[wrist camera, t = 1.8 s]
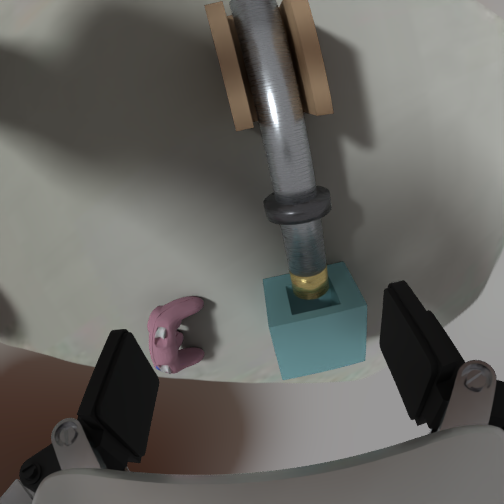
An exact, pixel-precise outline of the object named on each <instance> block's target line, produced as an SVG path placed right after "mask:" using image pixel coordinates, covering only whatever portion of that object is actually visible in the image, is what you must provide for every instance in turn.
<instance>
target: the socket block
mask: <svg viewBox="0 0 504 504" xmlns="http://www.w3.org/2000/svg"><path fill="white" fill-rule="evenodd" d="M327 272H328V282H329V289H328V291H327V293H326V294H324V295H323V296H321V297H319V298H317V299H312V300H305V299H300V298H298V297H297V296H295V295H294V293H293V288H292V283H291V277H290V274H285V275H280V276H276V277H271V278H266V279H263V285H264V292H265V300H266V308H267V316H268V324H269V330H270V334H271V337H272V341H273V345H274V349H275V353H276V356H277V360H278V364H279V368H280V372H281V376H282V379H283V380H286V379H291V378H296V377H301V376H306V375H310V374H315V373H319V372H324V371H328V370H332V369H336V368H340V367H344V366H348V365H352V364H355V363H359V362H363V361H365V355H366V333H367V304H366V302H365V300H364V298H363V296H362V294H361V292H360V291H359V289H358V287H357V285H356V283H355V281H354V280H353V278H352V276H351V274H350V272H349V271H348V269H347V267H346V265H345V263H344V262H339V263H335V264H330V265H327Z"/></svg>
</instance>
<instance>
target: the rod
mask: <svg viewBox="0 0 504 504" xmlns="http://www.w3.org/2000/svg"><path fill="white" fill-rule="evenodd" d="M229 5H230V9H231V12H232V16H233V20H234V24H235V27H236V31H237V35H238V39H239V43H240V47H241V51H242V55H243V59H244V63H245V67H246V71H247V75H248V79H249V83H250V87H251V91H252V96H253V100H254V104H255V108H256V113H257V117H258V121H259V126H260V130H261V135H262V139H263V144H264V148H265V153H266V157H267V162H268V166H269V171H270V176H271V180H272V185H273V190H274V193H272V194H270V195H269V196H267V197H266V198H265V200H264V208H265V212H266V217H267V219H268V220H269V221H270V222H273V223H275V224H281V229H282V234H283V239H284V244H285V250H286V255H287V260H288V265H289V272H290V277H291V283H292V288H293V293H294V295H295V296H297V297H298V298H300V299H305V300H312V299H317V298H319V297H321V296H323V295H324V294H326V293H327V291H328V289H329V282H328V272H327V263H326V256H325V247H324V239H323V231H322V224H321V218H322V217H324V216H325V215H327V214H328V213H329V212H330V210H331V199H330V192H329V190H328V189H326V188H324V187H321V186H316V182H315V176H314V170H313V164H312V158H311V152H310V146H309V141H308V135H307V130H306V125H305V120H304V115H303V110H302V105H301V100H300V95H299V90H298V86H297V81H296V77H295V72H294V68H293V64H292V59H291V55H290V51H289V47H288V43H287V39H286V35H285V31H284V27H283V23H282V20H281V16H280V12H279V9H278V5H277V2H276V0H231V1H230V2H229Z"/></svg>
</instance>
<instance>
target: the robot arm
mask: <svg viewBox="0 0 504 504" xmlns="http://www.w3.org/2000/svg"><path fill="white" fill-rule="evenodd" d="M380 348H381V351H382V353H383V356H384V358H385V360H386V362H387V365H388V367H389V369H390V371H391V374H392V376H393V378H394V381H395V383H396V385H397V388H398V390H399V393H400V395H401V397H402V400H403V402H404V405H405V407H406V410H407V412H408V415H409V417H410V418H411V420H414V419H415V421H416V423H417V426H418V425H421V424H424V423H427V425H428V427H429V428H430V429H431V430H430V433H429V434H428V435H425V436H422V437H419V438H415V439H412V440H409V441H406V442H403V443H400V444H397V445H393V446H390V447H387V448H383V449H379V450H376V451H372V452H368V453H364V454H361V455H357V456H353V457H349V458H344V459H340V460H335V461H330V462H325V463H320V464H315V465H309V466H303V467H297V468H290V469H283V470H275V471H267V472H255V473H242V474H226V475H171V474H153V473H140V472H130V471H129V470H128V468H127V462H135V463H140V461H141V457H142V456H144V455H145V451H146V447H147V441H148V436H149V431H150V426H151V421H152V416H153V411H154V406H155V401H156V397H157V392H158V387H159V379H158V376H157V375H156V373H155V371H154V370H153V368H152V367H151V365H150V363H149V362H148V360H147V358H146V357H145V355H144V353H143V352H142V350H141V348H140V346H139V345H138V343H137V341H136V339H135V338H134V336H133V334H132V333H131V332H128V331H127V330H126V329H120V330H112V331H111V332H110V334H109V336H108V339H107V341H106V343H105V345H104V348H103V350H102V352H101V355H100V357H99V359H98V362H97V364H96V367H95V369H94V371H93V374H92V376H91V379H90V381H89V384H88V386H87V389H86V391H85V394H84V397H83V399H82V402H81V405H80V407H79V410H78V413H77V415H78V419H77V420H76V419H73V418H66V419H64V420H61V421H60V422H59V423H58V424H57V425H56V426H55V427H54V429H53V432H52V436H51V439H52V444H50V445H49V446H47V447H46V448H44V449H43V450H41V451H40V452H38V453H37V454H35V455H34V456H32V457H31V458H29V459H28V460H26V461H25V462H24V463H23V465H22V466H21V469H20V475H19V476H20V481H19V480H18V479H16V481H15V482H14V483H13V484H12V485H11V486H10V487H9V489H8V490H7V491H6V492H5V493H4V494H3V496H2V497H1V498H0V504H504V382H502V381H499V380H496V374H495V371H494V369H493V368H492V367H491V366H490V365H489V364H487V363H486V362H483V361H481V360H471V361H468V362H466V363H465V361H464V360H463V358H462V357H461V355H460V353H459V352H458V350H457V349H456V347H455V346H454V344H453V342H452V341H451V339H450V338H449V336H448V335H447V333H446V332H445V330H444V329H443V327H442V326H441V324H440V323H439V322H438V320H437V319H436V317H435V316H434V314H433V313H432V312H431V311H429V310H428V311H426V310H425V308H424V307H423V305H422V304H421V302H420V301H419V300H418V298H417V297H416V295H415V294H414V293H413V291H412V290H411V288H410V287H409V286H408V284H407V283H406V282H405V281H399V282H394V283H390V284H389V285H388V288H387V289H385V290H384V298H383V311H382V322H381V332H380Z"/></svg>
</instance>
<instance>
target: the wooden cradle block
mask: <svg viewBox="0 0 504 504" xmlns="http://www.w3.org/2000/svg"><path fill="white" fill-rule="evenodd" d="M204 6H205V10H206V13H207V17H208V21H209V25H210V29H211V33H212V37H213V40H214V44H215V48H216V52H217V56H218V60H219V64H220V68H221V72H222V76H223V80H224V84H225V88H226V92H227V96H228V100H229V104H230V108H231V112H232V116H233V120H234V124H235V128H236V131H240V130H245V129H249V128H254V126H253V122H255V121H258V117H257V113H256V108H255V104H254V100H253V96H252V91H251V87H250V83H249V79H248V75H247V71H246V67H245V63H244V59H243V55H242V51H241V47H240V43H239V39H238V35H237V31H236V27H235V24H234V20H233V16H232V15H230V16H226V13H225V10H224V6H223V2H222V1H221V2H216V3H212V4H208V5H204ZM278 9H279V12H280V16H281V20H282V23H283V27H284V31H285V35H286V39H287V43H288V47H289V51H290V55H291V59H292V64H293V68H294V72H295V77H296V81H297V86H298V90H299V95H300V100H301V105H302V110H303V112H305V113H309V114H312V115H316V116H319V115H326V114H333V113H334V112H333V107H332V101H331V96H330V91H329V86H328V81H327V76H326V71H325V67H324V62H323V58H322V53H321V49H320V45H319V41H318V37H317V33H316V29H315V25H314V21H313V17H312V14H311V10H310V6H309V3H308V0H283V1H282V3H281V5H280V7H278Z"/></svg>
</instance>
